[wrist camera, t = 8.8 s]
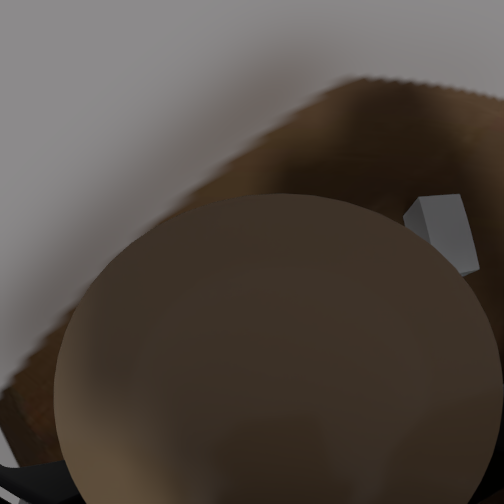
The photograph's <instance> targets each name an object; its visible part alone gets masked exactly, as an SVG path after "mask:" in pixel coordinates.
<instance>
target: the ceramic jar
mask: <svg viewBox="0 0 504 504" xmlns="http://www.w3.org/2000/svg"><path fill="white" fill-rule="evenodd" d="M502 406H503V378H502V368H501V363H500V357H499V352H498V347H497V343H496V340H495V337H494V334H493V331H492V328H491V326H490V323H489V320H488V318H487V316H486V314H485V312H484V310H483V308H482V306H481V304H480V302H479V301H478V299H477V297H476V295H475V293H474V292H473V290H472V289H471V288H470V286H469V285H468V284H467V282H466V281H465V280H464V278H463V277H462V276H461V274H460V273H459V272H458V270H457V269H456V268H455V267H454V266H453V265H452V264H451V263H450V262H449V261H448V260H447V259H446V258H445V257H444V256H443V255H442V254H441V253H440V252H439V251H438V250H437V249H436V248H434V247H433V246H432V245H431V244H429V243H428V242H427V241H425V240H424V239H422V238H421V237H420V236H418V235H417V234H415V233H414V232H413V231H411V230H410V229H408V228H407V227H405V226H403V225H401V224H399V223H397V222H395V221H393V220H391V219H389V218H387V217H385V216H383V215H381V214H379V213H377V212H374V211H372V210H369V209H366V208H363V207H360V206H357V205H354V204H351V203H348V202H344V201H340V200H335V199H330V198H325V197H319V196H314V195H300V194H284V193H277V194H262V195H248V196H242V197H237V198H232V199H227V200H222V201H218V202H213V203H210V204H208V205H205V206H202V207H199V208H196V209H193V210H190V211H187V212H184V213H182V214H180V215H178V216H176V217H174V218H172V219H170V220H168V221H166V222H164V223H162V224H160V225H158V226H156V227H155V228H153V229H152V230H150V231H149V232H147V233H146V234H144V235H143V236H141V237H140V238H138V239H137V240H135V241H134V242H133V243H131V244H130V245H129V246H128V247H127V248H125V249H124V250H123V251H122V252H121V253H120V254H119V255H118V256H117V257H115V258H114V259H113V260H112V261H111V262H110V263H109V264H108V265H107V266H106V267H105V269H104V270H103V271H102V272H101V273H100V274H99V276H98V277H97V278H96V279H95V280H94V282H93V283H92V284H91V285H90V287H89V289H88V290H87V292H86V293H85V295H84V296H83V298H82V299H81V301H80V303H79V304H78V306H77V308H76V310H75V312H74V314H73V316H72V318H71V320H70V323H69V325H68V327H67V329H66V332H65V335H64V338H63V341H62V345H61V348H60V352H59V355H58V360H57V366H56V373H55V380H54V412H55V421H56V429H57V434H58V438H59V442H60V446H61V450H62V454H63V457H64V459H65V462H66V465H67V467H68V470H69V472H70V474H71V477H72V479H73V481H74V483H75V485H76V486H77V488H78V490H79V492H80V494H81V496H82V497H83V499H84V500H85V502H86V503H87V504H468V502H469V500H470V499H471V497H472V496H473V494H474V492H475V491H476V489H477V487H478V486H479V484H480V482H481V480H482V478H483V476H484V474H485V472H486V469H487V467H488V465H489V462H490V460H491V457H492V455H493V451H494V448H495V444H496V441H497V437H498V433H499V429H500V423H501V415H502Z"/></svg>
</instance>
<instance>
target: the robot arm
mask: <svg viewBox="0 0 504 504" xmlns="http://www.w3.org/2000/svg"><path fill="white" fill-rule="evenodd" d="M0 486H1V487H2V488H4V489H6V490H7V491H9V492H10V493H12V494H14V495H15V496H17V497H19V498H20V500H19V504H87V503H86V502H85V500H84V499H83V497H82V496H81V494H80V492H79V490H78V488H77V486H76V485H75V483H74V481H73V479H72V477H71V474H70V472H69V470H68V467H67V465H66V462H65V460H62V461H57V462H52V463H46V464H40V465H34V466H27V467H20V468H8V467H4V466H2V465H1V464H0ZM0 504H11V503H10V502H8V501H6V500H4V499H3V498H1V497H0ZM468 504H504V397H503V406H502V415H501V423H500V429H499V433H498V437H497V441H496V444H495V448H494V451H493V455H492V457H491V460H490V462H489V465H488V467H487V469H486V472H485V474H484V476H483V478H482V480H481V482H480V484H479V486H478V487H477V489H476V491H475V492H474V494H473V496H472V497H471V499H470V500H469V502H468Z"/></svg>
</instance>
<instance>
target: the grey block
mask: <svg viewBox="0 0 504 504" xmlns="http://www.w3.org/2000/svg"><path fill="white" fill-rule="evenodd" d="M403 219H404V223H405V227H407V228H408V229H410V230H411V231H413V232H414V233H415V234H417V235H418V236H420V237H421V238H422V239H424V240H425V241H427V242H428V243H429V244H431V245H432V246H433V247H434V248H436V249H437V250H438V251H439V252H440V253H441V254H442V255H443V256H444V257H445V258H446V259H447V260H448V261H449V262H450V263H451V264H452V265H453V266H454V267H455V268H456V269H457V270H458V272H459V273H460V274H461V276H462V277H463V276H465V275H468V274H470V273H472V272H474V271H477V270H479V269H480V268H479V263H478V259H477V254H476V250H475V246H474V242H473V238H472V234H471V230H470V226H469V223H468V219H467V216H466V212H465V209H464V206H463V203H462V200H461V196H460V194H451V195H437V196H423V197H418V198H417V199H416V201H415V202H414V203H413V204H412V206H411V207H410V208H409V209H408V211H407V212H406V213H405V214H404V216H403Z"/></svg>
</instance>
